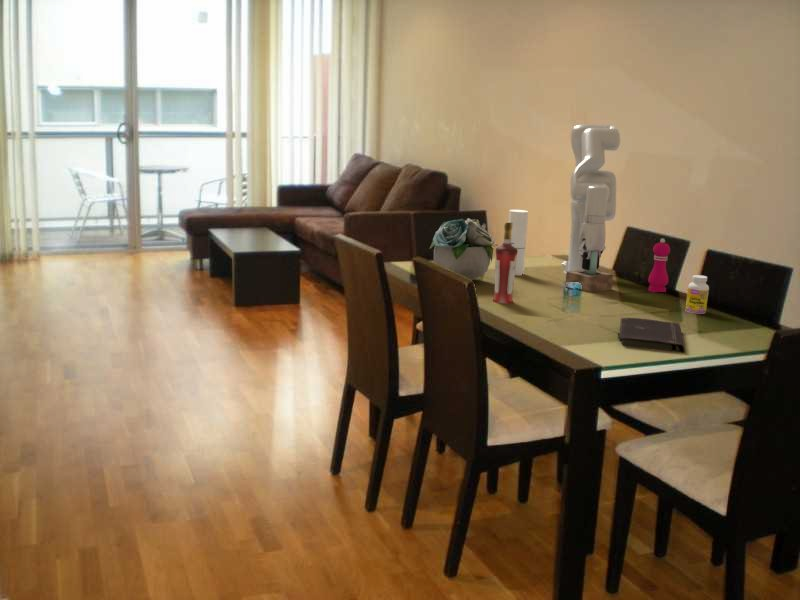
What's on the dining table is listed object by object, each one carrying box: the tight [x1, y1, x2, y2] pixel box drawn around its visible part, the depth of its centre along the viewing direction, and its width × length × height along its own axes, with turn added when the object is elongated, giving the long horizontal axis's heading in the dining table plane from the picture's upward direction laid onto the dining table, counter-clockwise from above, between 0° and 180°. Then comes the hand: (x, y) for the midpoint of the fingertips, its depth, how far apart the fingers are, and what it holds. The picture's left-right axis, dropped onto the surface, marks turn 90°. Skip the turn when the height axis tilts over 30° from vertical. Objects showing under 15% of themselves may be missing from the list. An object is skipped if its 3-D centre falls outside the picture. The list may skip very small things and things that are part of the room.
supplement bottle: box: [684, 274, 710, 315], centre depth 305 cm, size 7×7×13 cm
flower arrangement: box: [429, 217, 499, 281], centre depth 336 cm, size 25×25×24 cm
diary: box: [617, 317, 686, 354], centre depth 266 cm, size 19×25×5 cm
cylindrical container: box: [508, 209, 529, 276], centre depth 357 cm, size 7×7×25 cm
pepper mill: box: [647, 237, 671, 293], centre depth 337 cm, size 7×7×20 cm
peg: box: [584, 250, 598, 275], centre depth 336 cm, size 4×4×10 cm
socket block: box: [565, 269, 614, 293], centre depth 338 cm, size 12×12×6 cm
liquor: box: [492, 221, 518, 305], centre depth 304 cm, size 7×7×28 cm
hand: (590, 268), depth 337 cm, fingers open, 4 cm apart
